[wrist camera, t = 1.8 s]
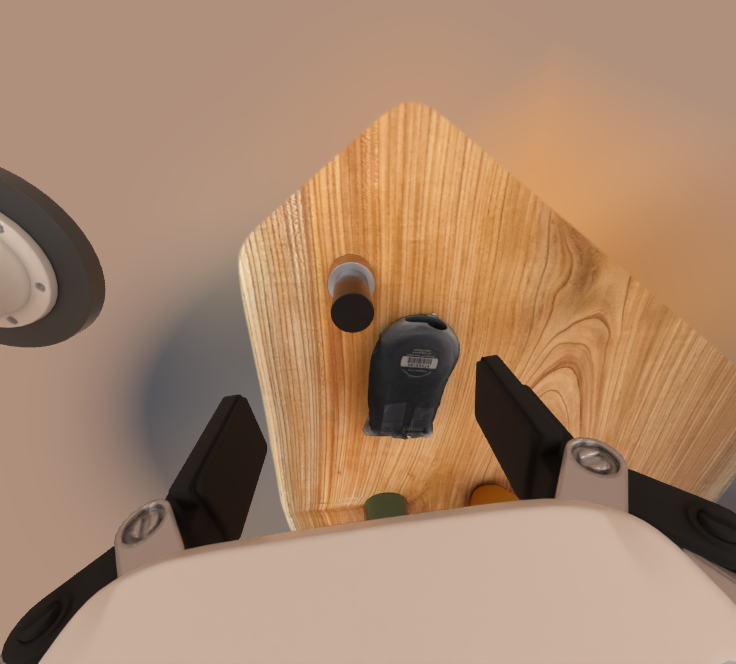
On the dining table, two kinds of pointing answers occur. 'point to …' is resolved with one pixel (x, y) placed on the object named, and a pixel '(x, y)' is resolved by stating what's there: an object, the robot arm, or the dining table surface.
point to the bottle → (385, 506)
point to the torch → (351, 293)
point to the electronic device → (409, 376)
